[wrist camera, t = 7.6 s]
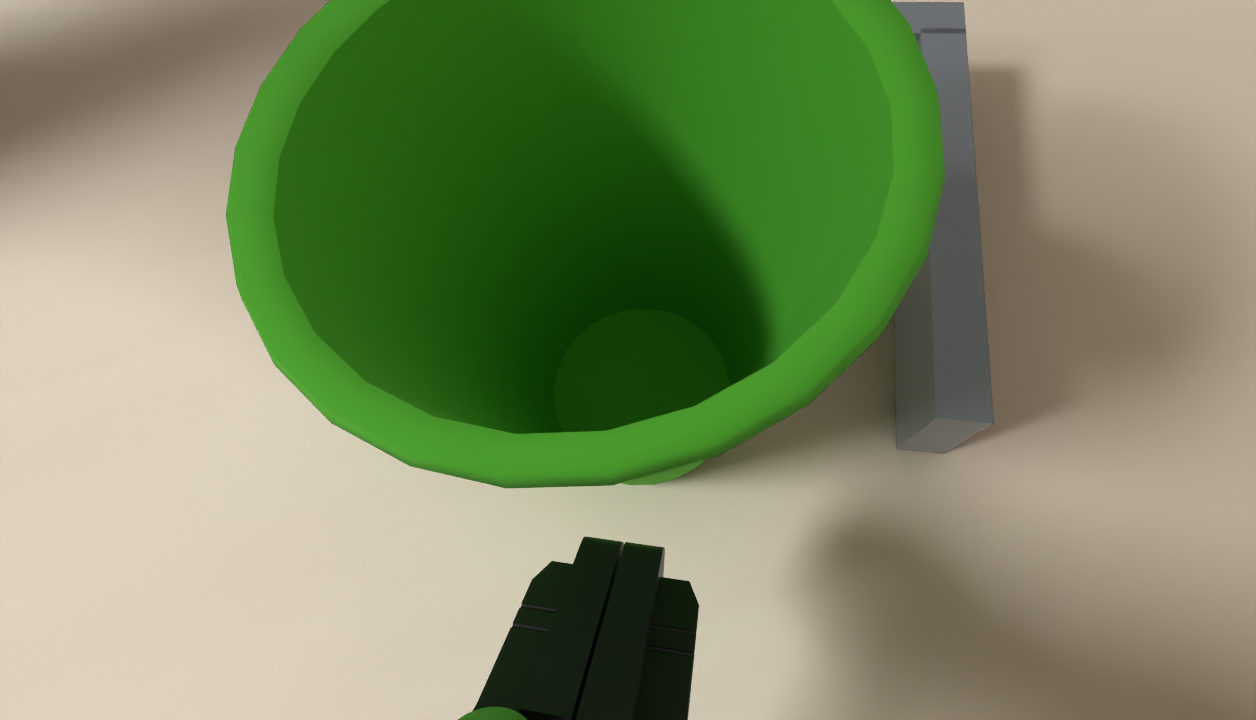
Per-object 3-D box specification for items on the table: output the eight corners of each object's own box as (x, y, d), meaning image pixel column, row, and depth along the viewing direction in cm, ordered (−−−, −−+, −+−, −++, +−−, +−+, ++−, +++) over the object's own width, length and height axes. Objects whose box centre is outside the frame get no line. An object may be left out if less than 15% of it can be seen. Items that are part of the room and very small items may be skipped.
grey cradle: (399, 398, 19) (348, 363, 16) (487, 72, 23) (458, 0, 20) (943, 453, 17) (993, 424, 14) (928, 82, 21) (963, 2, 18)
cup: (537, 240, 20) (373, -129, 10) (824, 283, 19) (972, -106, 8) (446, 517, 17) (82, 388, 7) (779, 599, 16) (925, 580, 5)
